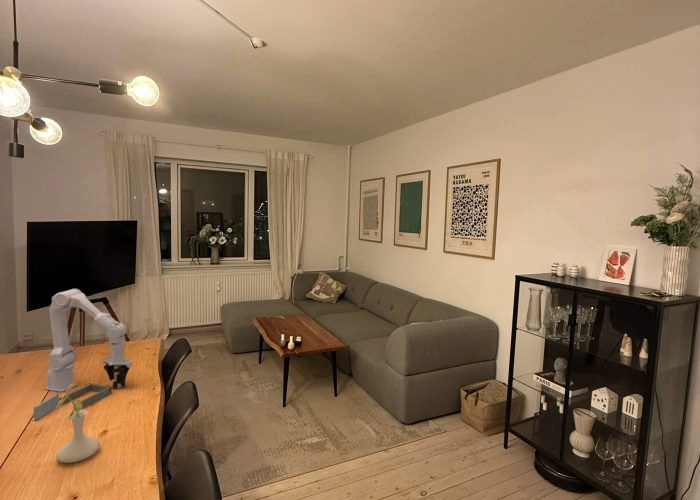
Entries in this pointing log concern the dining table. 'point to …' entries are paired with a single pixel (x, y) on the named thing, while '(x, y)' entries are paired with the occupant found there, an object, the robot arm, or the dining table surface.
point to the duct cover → (46, 406)
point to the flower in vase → (76, 435)
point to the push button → (117, 378)
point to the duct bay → (101, 390)
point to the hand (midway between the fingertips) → (117, 380)
